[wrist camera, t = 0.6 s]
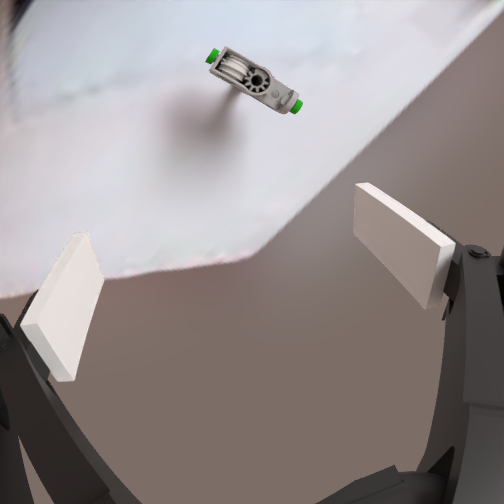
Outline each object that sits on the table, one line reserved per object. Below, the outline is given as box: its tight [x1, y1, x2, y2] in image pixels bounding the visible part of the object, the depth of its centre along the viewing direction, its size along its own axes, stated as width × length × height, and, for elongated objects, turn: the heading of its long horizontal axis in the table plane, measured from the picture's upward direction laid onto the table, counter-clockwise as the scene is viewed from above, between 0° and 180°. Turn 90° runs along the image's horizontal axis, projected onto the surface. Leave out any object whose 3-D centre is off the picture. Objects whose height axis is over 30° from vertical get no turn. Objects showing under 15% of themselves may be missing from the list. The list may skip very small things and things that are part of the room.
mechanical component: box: [205, 46, 303, 114], centre depth 31 cm, size 3×10×10 cm, turn 58°
